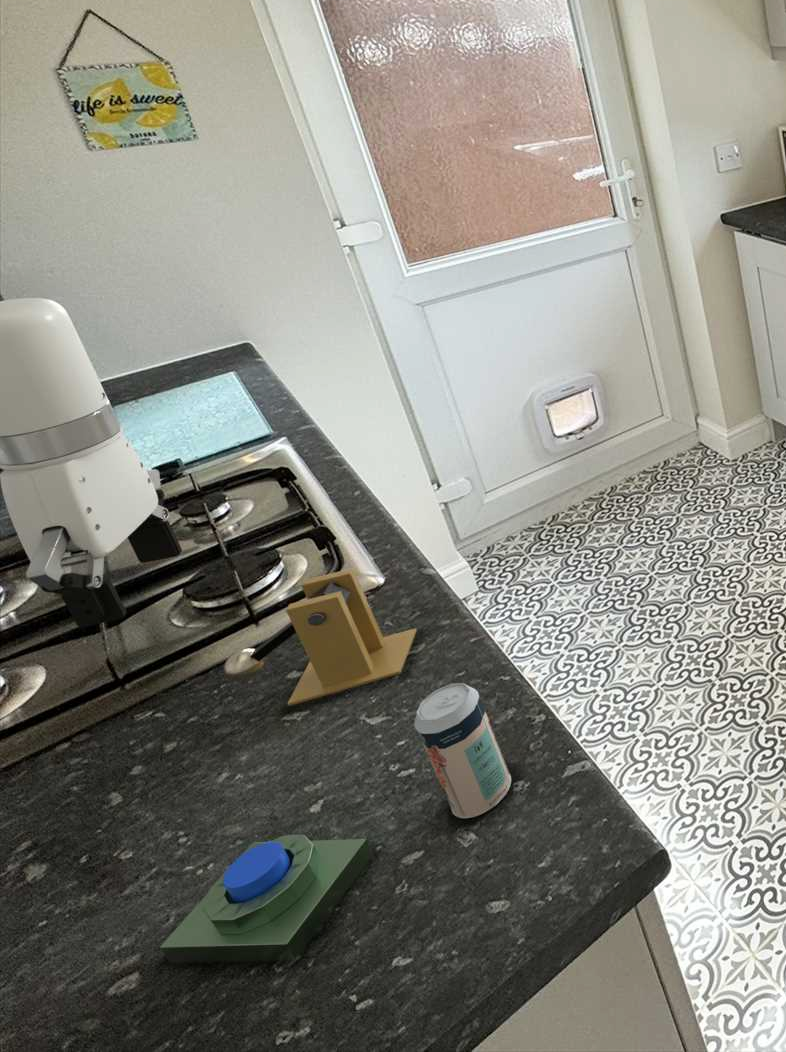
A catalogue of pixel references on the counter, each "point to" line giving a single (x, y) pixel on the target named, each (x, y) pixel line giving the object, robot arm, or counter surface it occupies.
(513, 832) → the counter surface
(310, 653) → the bracket
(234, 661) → the black silver long piece
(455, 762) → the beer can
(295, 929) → the button box
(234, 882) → the light button
